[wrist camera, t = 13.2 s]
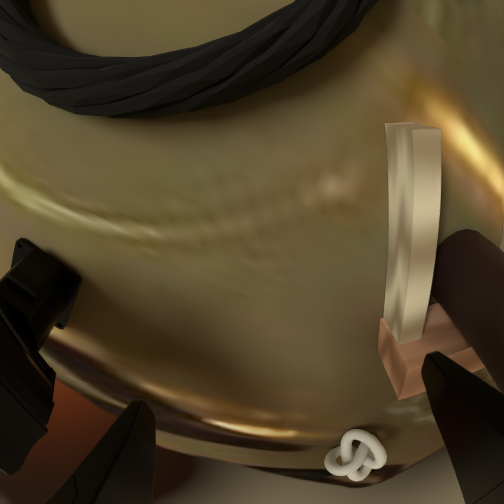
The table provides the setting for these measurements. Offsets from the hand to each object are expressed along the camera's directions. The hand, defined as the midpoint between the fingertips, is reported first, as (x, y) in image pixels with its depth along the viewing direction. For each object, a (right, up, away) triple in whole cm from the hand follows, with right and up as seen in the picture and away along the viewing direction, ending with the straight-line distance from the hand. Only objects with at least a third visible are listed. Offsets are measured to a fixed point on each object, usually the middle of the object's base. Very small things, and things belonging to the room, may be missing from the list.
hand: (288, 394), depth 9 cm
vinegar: (+16, +3, +14) cm, 22 cm away
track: (+16, +5, +13) cm, 21 cm away
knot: (+12, -20, +26) cm, 35 cm away
